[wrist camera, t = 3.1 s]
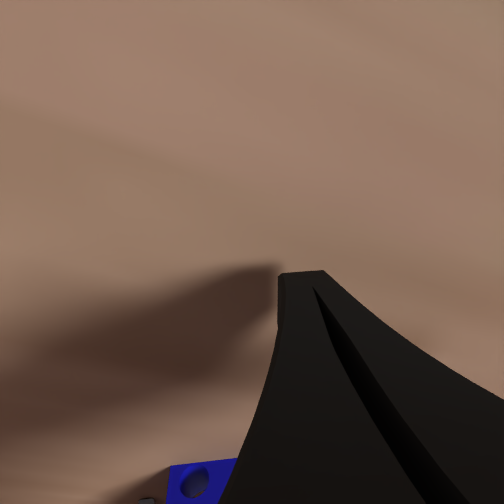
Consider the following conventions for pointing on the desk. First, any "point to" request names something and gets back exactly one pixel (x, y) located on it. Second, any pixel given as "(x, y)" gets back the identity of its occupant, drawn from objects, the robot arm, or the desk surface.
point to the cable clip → (198, 481)
